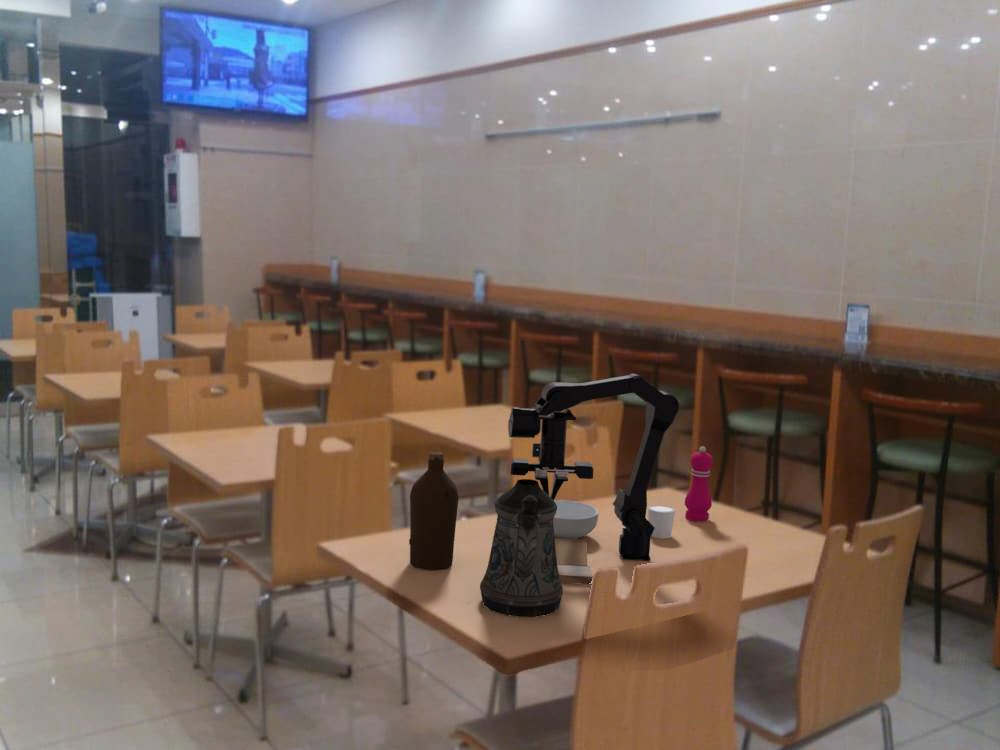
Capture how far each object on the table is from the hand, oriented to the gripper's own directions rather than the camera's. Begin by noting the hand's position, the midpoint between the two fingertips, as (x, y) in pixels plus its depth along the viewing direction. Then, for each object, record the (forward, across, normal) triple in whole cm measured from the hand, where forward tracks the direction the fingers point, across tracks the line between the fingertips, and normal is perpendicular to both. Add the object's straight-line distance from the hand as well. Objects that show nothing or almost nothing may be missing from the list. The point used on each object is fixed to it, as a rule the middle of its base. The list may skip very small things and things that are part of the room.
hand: (549, 505), depth 231 cm
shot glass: (+12, -30, -22) cm, 39 cm away
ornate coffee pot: (+12, +6, +33) cm, 36 cm away
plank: (+10, 0, +7) cm, 12 cm away
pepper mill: (+12, -43, -40) cm, 60 cm away
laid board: (+12, 0, +15) cm, 19 cm away
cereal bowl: (+12, -5, -17) cm, 22 cm away
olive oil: (+12, +26, +10) cm, 30 cm away
